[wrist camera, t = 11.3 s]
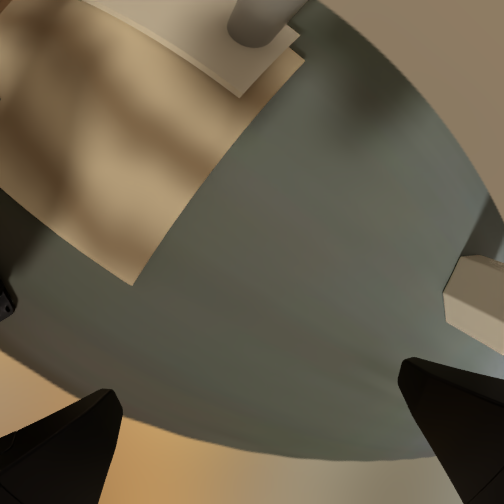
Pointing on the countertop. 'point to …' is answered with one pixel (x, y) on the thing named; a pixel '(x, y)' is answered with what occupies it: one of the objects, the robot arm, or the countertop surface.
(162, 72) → the board
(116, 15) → the knobbed beige slab
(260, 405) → the countertop surface
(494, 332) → the jar
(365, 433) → the countertop surface
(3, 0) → the tunnel
